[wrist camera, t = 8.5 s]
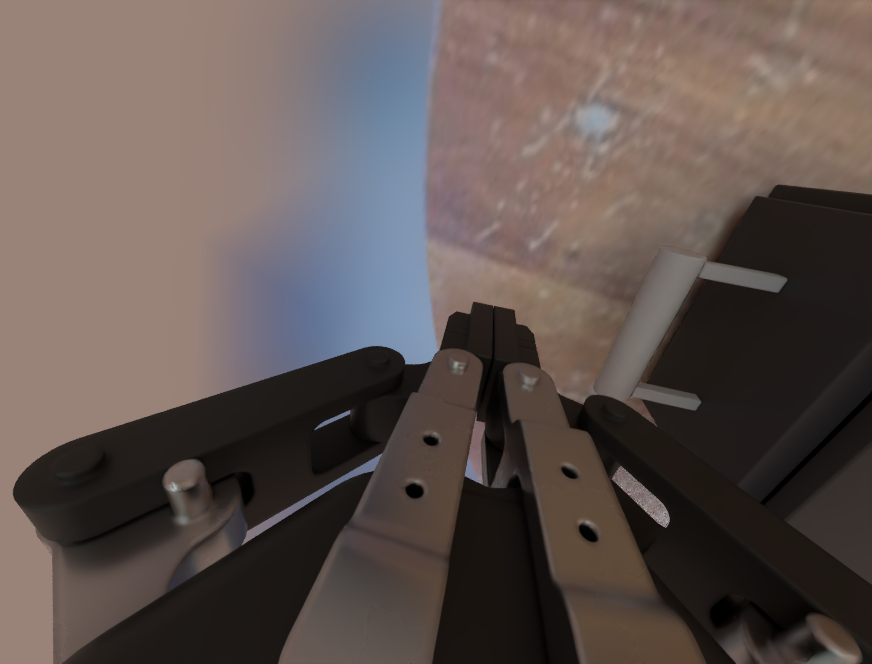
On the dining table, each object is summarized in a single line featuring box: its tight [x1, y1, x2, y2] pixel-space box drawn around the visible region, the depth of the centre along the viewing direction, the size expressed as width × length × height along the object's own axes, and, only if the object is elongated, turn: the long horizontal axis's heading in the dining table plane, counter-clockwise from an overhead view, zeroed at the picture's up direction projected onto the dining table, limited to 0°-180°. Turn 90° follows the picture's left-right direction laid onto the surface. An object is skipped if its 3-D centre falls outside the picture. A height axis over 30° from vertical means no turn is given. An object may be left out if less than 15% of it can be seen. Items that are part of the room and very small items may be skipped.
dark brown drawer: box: [593, 196, 872, 502], centre depth 14 cm, size 18×12×8 cm, turn 81°
